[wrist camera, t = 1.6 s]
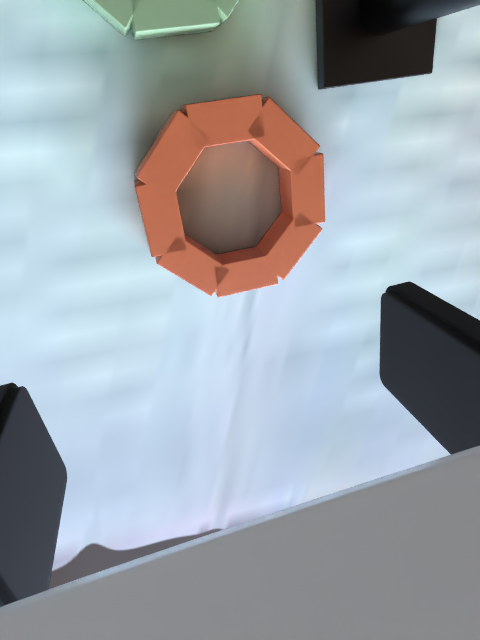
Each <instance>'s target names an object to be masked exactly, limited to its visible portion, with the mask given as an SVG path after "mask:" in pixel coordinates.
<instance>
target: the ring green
mask: <svg viewBox="0 0 480 640" xmlns="http://www.w3.org/2000/svg"><path fill="white" fill-rule="evenodd" d="M83 1H84V2H85V3H87V4H88V5H89V6H90V7H91V8H92V9H94V10H95V11H96V12H97V13H98V14H99V15H101V16H102V17H103V18H104V19H105V20H106V21H107V22H109V23H110V24H111V25H112V26H113V27H114V28H116V29H117V30H118V31H119V32H120V33H121V34H122V35H124V36H126V35H127V33H128V31H129V30H130V28H131V27H132V32H133V37H134V40H139V39H148V38H157V37H166V36H175V35H184V34H194V33H203V32H211V31H212V30H213V29H214V28H215V27H216V26H217V25H218V26H220V25H221V24H222V23H223V22H224V21H225V20H226V19H227V18H228V17H229V15H230V14H231V12H232V11H233V9H234V7H235V6H236V4H237V3H238V1H239V0H83Z"/></svg>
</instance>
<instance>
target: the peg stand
mask: <svg viewBox="0 0 480 640" xmlns="http://www.w3.org/2000/svg"><path fill="white" fill-rule="evenodd" d="M477 5H480V0H316V32H317V67H318V89H326V88H333V87H340V86H347V85H354V84H361V83H368V82H375V81H382V80H389V79H396V78H403V77H410V76H417V75H424V74H431V73H432V69H433V57H434V46H435V34H436V23H437V18H439V17H442V16H445V15H449V14H452V13H455V12H458V11H461V10H464V9H468V8H471V7H474V6H477Z"/></svg>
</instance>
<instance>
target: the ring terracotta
mask: <svg viewBox="0 0 480 640" xmlns="http://www.w3.org/2000/svg"><path fill="white" fill-rule="evenodd" d="M181 111H182V112H181ZM181 111H180V110H174V111H173V112H172V114H171V115H170V117H169V119H168V120H167V122H166V124H165V125H164V127H163V128H162V130H161V132H160V133H159V135H158V136H157V138H156V140H155V141H154V143H153V144H152V146H151V148H150V149H149V151H148V152H147V154H146V156H145V157H144V159H143V160H142V162H141V164H140V165H139V167H138V168H137V170H136V172H135V174H136V177H137V178H138V179H139V180H135V181H134V185H135V189H136V193H137V198H138V202H139V206H140V210H141V214H142V218H143V222H144V227H145V231H146V235H147V239H148V243H149V247H150V251H151V256H152V257H155V258H156V262H157V264H158V265H160V266H162V267H163V268H165V269H167V270H168V271H170V272H172V273H173V274H175V275H177V276H178V277H180V278H182V279H183V280H185V281H187V282H188V283H190V284H192V285H193V286H195V287H197V288H198V289H200V290H202V291H203V292H205V293H206V294H208V295H210V296H212V295H213V293H214V292H216V294H217V296H218V297H222V296H227V295H231V294H235V293H240V292H244V291H249V290H253V289H257V288H262V287H266V286H271V285H275V284H278V279H277V276H278V277H280V278H281V279H283V280H284V279H285V277H286V276H287V275H288V274H289V272H290V271H291V270H292V268H293V267H294V266H295V264H296V263H297V262H298V261H299V259H300V258H301V257H302V255H303V254H304V253H305V251H306V250H307V249H308V247H309V246H310V245H311V244H312V242H313V241H314V240H315V238H316V237H317V236H318V234H319V233H320V232H321V230H322V228H321V227H320V226H319V225H317V224H318V223H323V222H325V200H324V160H323V153H317V150H318V149H319V147H320V145H319V144H318V143H317V142H316V141H314V140H313V139H312V138H311V137H310V136H309V135H308V134H307V133H306V132H305V131H304V130H303V129H302V128H301V127H300V126H299V125H298V124H297V123H296V122H295V121H294V120H293V119H292V118H291V117H290V116H289V115H288V114H286V113H285V112H284V111H283V110H282V109H281V108H280V107H279V106H278V105H277V104H276V103H275V102H274V101H273V100H272V99H271V98H270V97H266V98H262V96H261V94H257V95H249V96H242V97H235V98H228V99H221V100H214V101H207V102H200V103H193V104H186V105H181ZM247 140H248V141H249V142H250V143H251V144H252V145H253V146H254V147H256V148H257V149H258V150H259V151H260V152H261V153H263V154H264V155H265V156H266V157H267V158H268V159H269V160H271V161H272V162H273V163H274V164H275V165H276V166H278V170H279V183H280V196H281V210H282V212H281V214H280V215H279V216H278V218H277V219H276V220H275V222H274V223H273V224H272V226H271V227H270V229H269V230H268V231H267V233H266V234H265V235H264V237H263V238H262V240H261V241H260V242H259V244H258V245H257V246H256V247H251V248H246V249H242V250H237V251H232V252H227V253H222V254H217V255H216V254H214V253H213V252H211V251H210V250H208V249H207V248H205V247H204V246H202V245H201V244H199V243H198V242H196V241H195V240H193V239H192V238H190V237H189V236H187V235H186V234H184V229H183V224H182V219H181V214H180V209H179V204H178V199H177V194H176V190H177V189H178V187H179V186H180V184H181V183H182V181H183V180H184V178H185V177H186V175H187V173H188V172H189V170H190V169H191V167H192V166H193V164H194V163H195V161H196V160H197V158H198V157H199V155H200V154H201V152H202V151H203V149H204V148H205V147H209V146H216V145H222V144H228V143H234V142H240V141H247Z"/></svg>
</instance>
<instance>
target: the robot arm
mask: <svg viewBox="0 0 480 640" xmlns="http://www.w3.org/2000/svg"><path fill="white" fill-rule="evenodd" d="M380 378H381V381H382V383H383V385H384V386H385V387H386V388H387V389H388V390H389V391H390V392H391V393H392V394H393V395H394V396H395V398H396V399H397V400H398V401H399V402H400V403H401V404H402V405H403V406H404V407H405V408H406V409H407V410H408V411H409V412H410V413H411V414H412V415H413V416H414V417H415V418H416V419H417V420H418V421H419V422H420V423H421V424H422V425H423V426H424V427H425V428H426V429H427V430H428V431H429V432H430V434H431V435H432V436H433V437H434V438H435V439H436V440H437V441H438V442H439V443H440V444H441V445H442V446H443V447H444V448H445V449H446V450H447V451H448V452H449V453H450V454H451V455H449V456H446V457H443V458H439V459H436V460H433V461H430V462H427V463H424V464H421V465H418V466H415V467H412V468H409V469H406V470H403V471H400V472H396V473H393V474H390V475H387V476H384V477H381V478H378V479H375V480H372V481H369V482H366V483H363V484H360V485H357V486H354V487H351V488H348V489H345V490H342V491H339V492H336V493H333V494H330V495H327V496H324V497H320V498H317V499H314V500H311V501H308V502H305V503H302V504H299V505H296V506H293V507H290V508H287V509H284V510H281V511H278V512H275V513H272V514H269V515H266V516H263V517H260V518H257V519H254V520H251V521H248V522H245V523H242V524H239V525H236V526H233V527H230V528H227V529H224V530H221V531H218V532H216V533H213V534H210V535H207V536H204V537H201V538H198V539H195V540H192V541H189V542H186V543H183V544H180V545H177V546H174V547H171V548H168V549H165V550H162V551H159V552H156V553H153V554H151V555H147V556H144V557H142V558H139V559H136V560H133V561H130V562H127V563H124V564H121V565H118V566H115V567H112V568H109V569H106V570H103V571H100V572H97V573H94V574H92V575H89V576H86V577H83V578H80V579H78V580H75V581H72V582H69V583H66V584H64V585H61V586H58V587H55V588H52V589H50V590H49V584H50V578H51V572H52V566H53V560H54V554H55V548H56V542H57V536H58V530H59V524H60V518H61V512H62V506H63V501H64V495H65V489H66V483H67V472H66V467H65V465H64V463H63V461H62V459H61V457H60V455H59V453H58V451H57V449H56V447H55V445H54V443H53V441H52V439H51V437H50V435H49V433H48V431H47V429H46V427H45V425H44V423H43V421H42V419H41V417H40V415H39V413H38V411H37V409H36V407H35V405H34V403H33V401H32V399H31V397H30V395H29V393H28V391H27V389H26V388H25V387H23V386H21V387H18V386H17V385H16V384H14V383H9V384H5V385H1V386H0V640H480V321H479V320H478V319H476V318H474V317H472V316H471V315H469V314H467V313H465V312H464V311H462V310H460V309H458V308H456V307H455V306H453V305H451V304H449V303H448V302H446V301H444V300H442V299H440V298H439V297H437V296H435V295H433V294H432V293H430V292H428V291H426V290H425V289H423V288H421V287H419V286H417V285H416V284H414V283H412V282H405V283H401V284H397V285H393V286H389V287H388V288H387V290H386V293H384V294H382V297H381V324H380Z"/></svg>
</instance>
